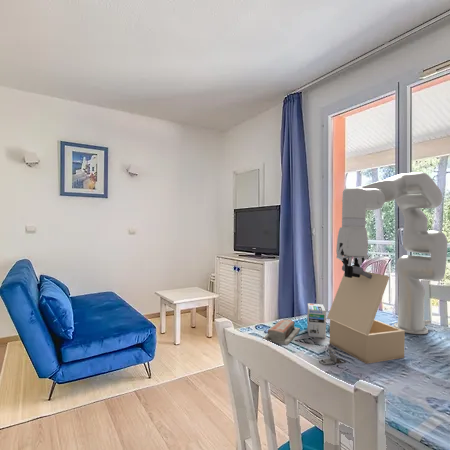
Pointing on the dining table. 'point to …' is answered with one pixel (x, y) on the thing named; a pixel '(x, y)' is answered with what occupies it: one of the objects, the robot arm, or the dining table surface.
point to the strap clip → (331, 359)
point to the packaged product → (282, 332)
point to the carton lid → (358, 300)
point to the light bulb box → (316, 320)
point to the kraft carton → (369, 342)
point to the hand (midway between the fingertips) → (352, 276)
